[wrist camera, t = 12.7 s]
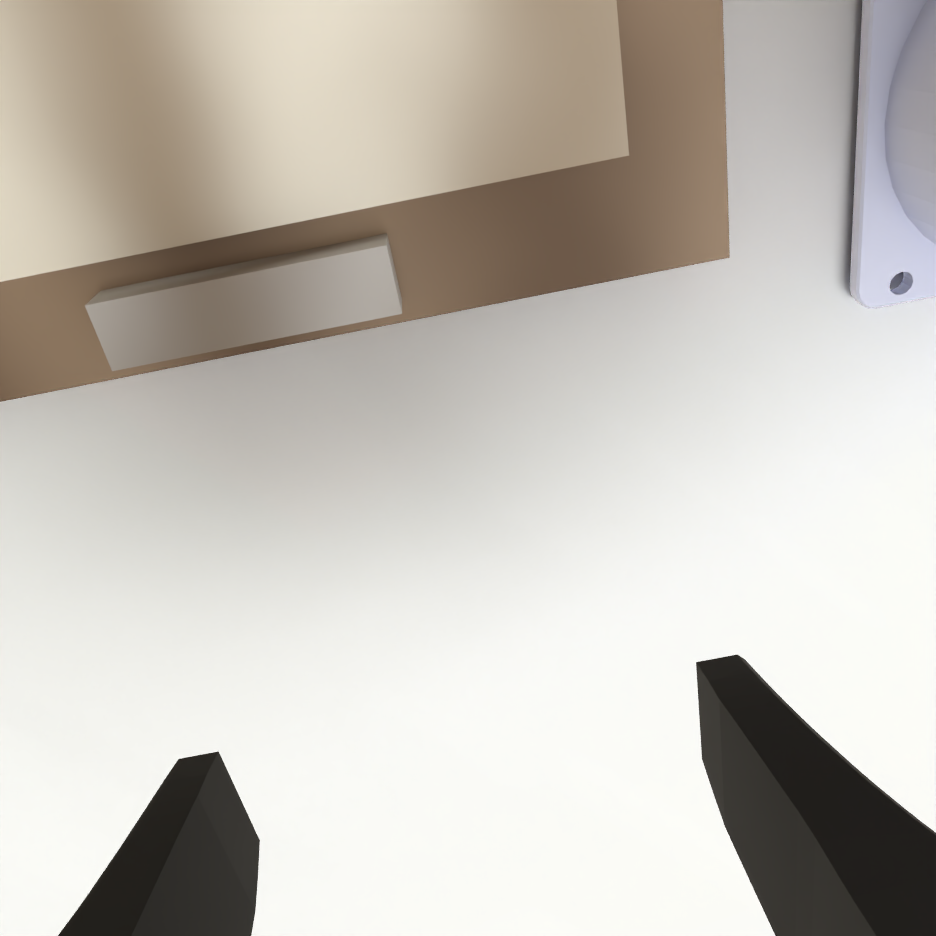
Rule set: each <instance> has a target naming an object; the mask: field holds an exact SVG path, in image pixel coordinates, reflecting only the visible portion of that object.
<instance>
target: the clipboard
mask: <svg viewBox="0 0 936 936" xmlns="http://www.w3.org/2000/svg"><path fill="white" fill-rule="evenodd" d="M724 258H729V221H728V184H727V148H726V111H725V74H724V37H723V1H722V0H0V402H1V401H6V400H11V399H16V398H21V397H27V396H32V395H37V394H42V393H47V392H52V391H57V390H62V389H67V388H72V387H77V386H82V385H87V384H92V383H97V382H102V381H107V380H112V379H117V378H123V377H128V376H133V375H138V374H143V373H148V372H153V371H158V370H163V369H168V368H173V367H178V366H183V365H188V364H193V363H198V362H203V361H208V360H213V359H219V358H224V357H229V356H234V355H239V354H244V353H249V352H254V351H259V350H264V349H269V348H274V347H279V346H284V345H289V344H294V343H299V342H304V341H310V340H315V339H320V338H325V337H330V336H335V335H340V334H345V333H350V332H355V331H360V330H365V329H370V328H375V327H380V326H385V325H390V324H395V323H400V322H406V321H411V320H416V319H421V318H426V317H431V316H436V315H441V314H446V313H451V312H456V311H461V310H466V309H471V308H476V307H481V306H486V305H491V304H496V303H502V302H507V301H512V300H517V299H522V298H527V297H532V296H537V295H542V294H547V293H552V292H557V291H562V290H567V289H572V288H577V287H582V286H587V285H593V284H598V283H603V282H608V281H613V280H618V279H623V278H628V277H633V276H638V275H643V274H648V273H653V272H658V271H663V270H668V269H673V268H678V267H683V266H689V265H694V264H699V263H704V262H709V261H714V260H719V259H724Z"/></svg>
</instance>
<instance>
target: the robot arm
mask: <svg viewBox="0 0 936 936" xmlns="http://www.w3.org/2000/svg"><path fill="white" fill-rule="evenodd" d="M900 272H903V274H904V277H903V280H902V283H901V284H900V285H899V286H898V287H896V288H894V289H892V290H890V282H891V280H892V278H893V277H894V276H895V275H896V274H898V273H900ZM850 292H851V296H852V297H853V298H854V300H855V301H856V302H858V303H859V304H861V305H863V306H865V307H867V308H880V307H886V306H891V305H896V304H901V303H906V302H911V301H916V300H921V299H926V298H932V297H936V0H863V1H862V24H861V46H860V69H859V91H858V114H857V137H856V159H855V182H854V204H853V227H852V250H851V272H850ZM696 666H697V682H698V699H699V715H700V731H701V747H702V760H703V763H704V766H705V769H706V772H707V775H708V778H709V781H710V784H711V787H712V790H713V793H714V796H715V799H716V802H717V805H718V808H719V810H720V813H721V816H722V819H723V822H724V825H725V827H726V829H727V832H728V834H729V836H730V838H731V841H732V843H733V845H734V847H735V849H736V851H737V854H738V856H739V858H740V860H741V862H742V864H743V867H744V869H745V871H746V873H747V875H748V877H749V880H750V882H751V884H752V886H753V888H754V890H755V893H756V895H757V897H758V899H759V901H760V903H761V905H762V908H763V910H764V912H765V914H766V916H767V918H768V920H769V923H770V925H771V927H772V929H773V931H774V933H775V935H776V936H936V833H935V832H934V831H933V830H931V829H930V828H929V827H927V826H926V825H925V824H923V823H922V822H921V821H920V820H918V819H917V818H916V817H915V816H913V815H912V814H911V813H909V812H908V811H907V810H906V809H904V808H903V807H902V806H901V805H900V804H898V803H897V802H896V801H895V800H893V799H892V798H891V797H890V796H889V795H887V794H886V793H885V792H884V791H882V790H881V789H880V788H879V787H878V786H876V785H875V784H874V783H873V782H872V781H870V780H869V779H868V778H867V777H866V776H865V775H863V774H862V773H861V772H860V771H859V770H858V769H857V768H855V767H854V766H853V765H852V764H851V763H850V762H849V761H848V760H846V759H845V758H844V757H843V756H842V755H841V754H840V753H839V752H838V751H837V750H835V749H834V748H833V747H832V746H831V745H830V744H829V743H828V742H827V741H825V740H824V739H823V738H822V737H821V736H820V735H819V734H818V733H817V732H816V731H815V730H814V729H813V728H811V727H810V726H809V725H808V724H807V723H806V722H805V721H804V720H803V719H802V718H801V717H800V716H799V715H798V714H797V713H796V712H795V711H794V710H793V709H792V708H791V707H790V706H789V705H788V704H787V703H786V702H785V701H784V700H783V699H782V698H781V697H780V696H779V695H778V694H777V693H776V692H775V691H774V690H773V689H772V688H771V687H770V686H769V685H768V684H767V683H766V682H765V681H764V680H763V679H762V677H761V676H760V675H759V674H758V673H757V672H756V671H755V670H754V669H753V668H752V667H751V666H750V665H749V664H748V662H747V661H746V660H745V659H743V658H742V657H740V656H739V655H733V656H728V657H722V658H717V659H712V660H706V661H701V662H696ZM259 842H260V840H259V838H258V836H257V834H256V832H255V830H254V827H253V825H252V823H251V821H250V819H249V817H248V814H247V812H246V810H245V808H244V806H243V804H242V801H241V799H240V797H239V795H238V793H237V791H236V788H235V786H234V784H233V782H232V780H231V778H230V775H229V773H228V771H227V769H226V767H225V765H224V762H223V760H222V758H221V756H220V754H219V752H214V753H209V754H203V755H198V756H193V757H187V758H182V759H179V760H178V761H177V762H176V764H175V765H174V767H173V768H172V770H171V771H170V773H169V774H168V776H167V777H166V779H165V780H164V782H163V783H162V785H161V786H160V788H159V789H158V791H157V792H156V794H155V795H154V797H153V798H152V800H151V801H150V803H149V805H148V806H147V808H146V809H145V811H144V812H143V814H142V815H141V817H140V818H139V820H138V821H137V823H136V824H135V826H134V827H133V829H132V831H131V832H130V834H129V835H128V837H127V838H126V840H125V841H124V843H123V844H122V846H121V847H120V849H119V850H118V852H117V853H116V855H115V856H114V857H113V859H112V860H111V862H110V863H109V865H108V866H107V868H106V869H105V871H104V872H103V874H102V875H101V876H100V878H99V879H98V881H97V882H96V884H95V885H94V887H93V888H92V890H91V891H90V893H89V894H88V895H87V897H86V898H85V900H84V901H83V903H82V904H81V905H80V907H79V908H78V910H77V911H76V912H75V914H74V915H73V916H72V918H71V919H70V920H69V922H68V923H67V924H66V926H65V927H64V928H63V930H62V931H61V933H60V934H59V935H58V936H251V933H252V927H253V921H254V915H255V907H256V894H257V881H258V862H259Z"/></svg>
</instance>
